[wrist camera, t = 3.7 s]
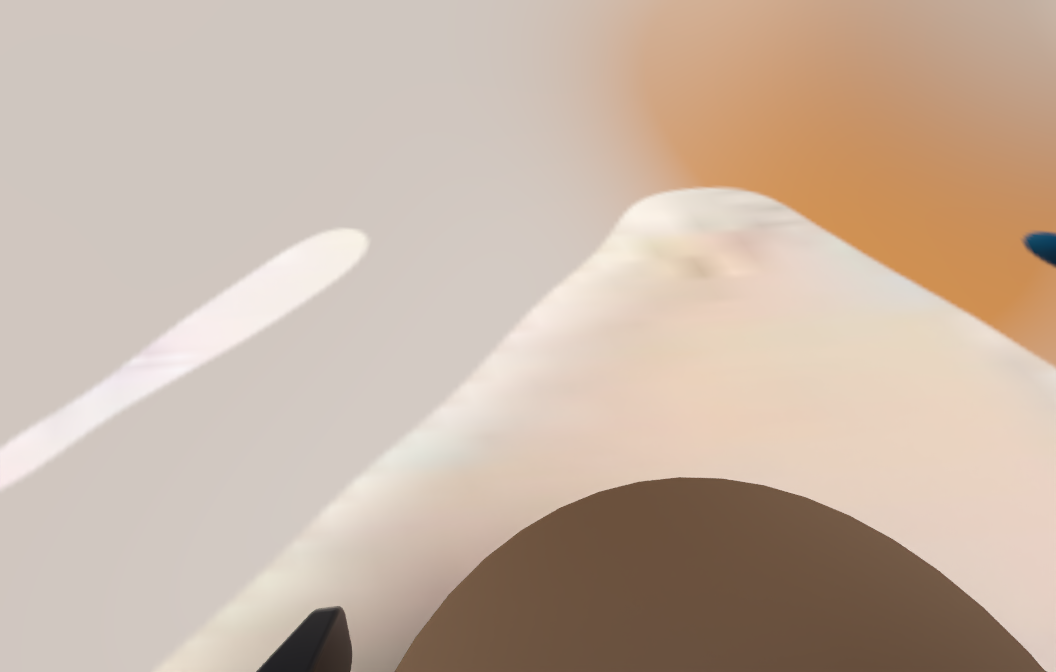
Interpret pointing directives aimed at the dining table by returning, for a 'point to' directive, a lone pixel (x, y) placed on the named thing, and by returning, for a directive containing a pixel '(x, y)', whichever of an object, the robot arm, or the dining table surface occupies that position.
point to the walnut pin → (708, 593)
